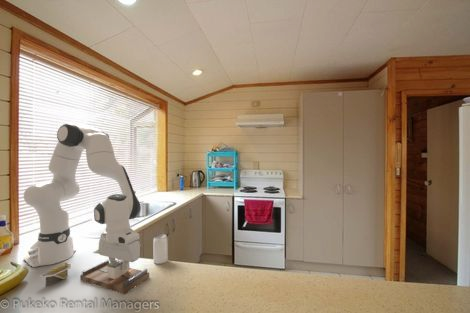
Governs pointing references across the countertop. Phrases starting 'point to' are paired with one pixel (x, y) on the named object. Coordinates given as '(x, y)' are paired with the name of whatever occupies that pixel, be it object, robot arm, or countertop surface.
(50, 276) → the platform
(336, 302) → the countertop surface
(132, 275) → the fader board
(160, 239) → the can
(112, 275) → the white lidded box
